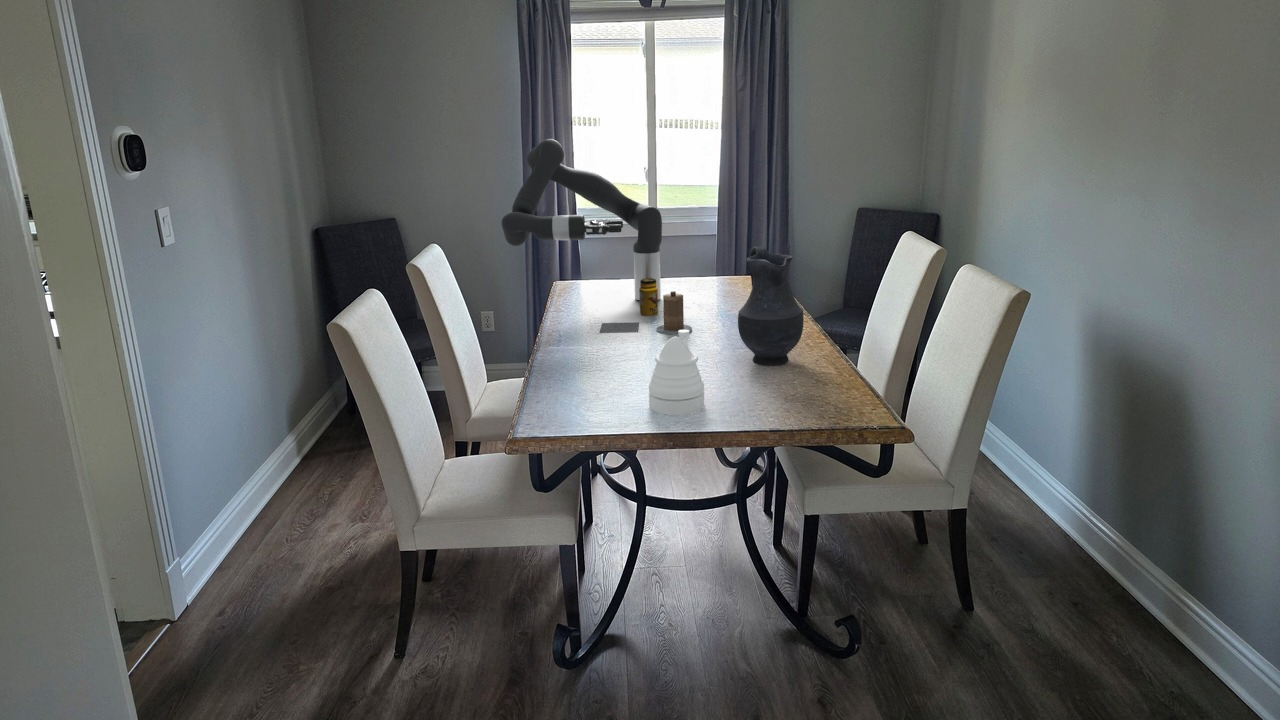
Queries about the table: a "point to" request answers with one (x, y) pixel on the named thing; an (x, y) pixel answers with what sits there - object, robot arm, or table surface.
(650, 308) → the condiment
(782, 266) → the pitcher
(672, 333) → the grey round disc
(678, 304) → the canister
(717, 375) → the table surface
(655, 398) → the honey pot
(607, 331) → the mat
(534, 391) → the table surface
